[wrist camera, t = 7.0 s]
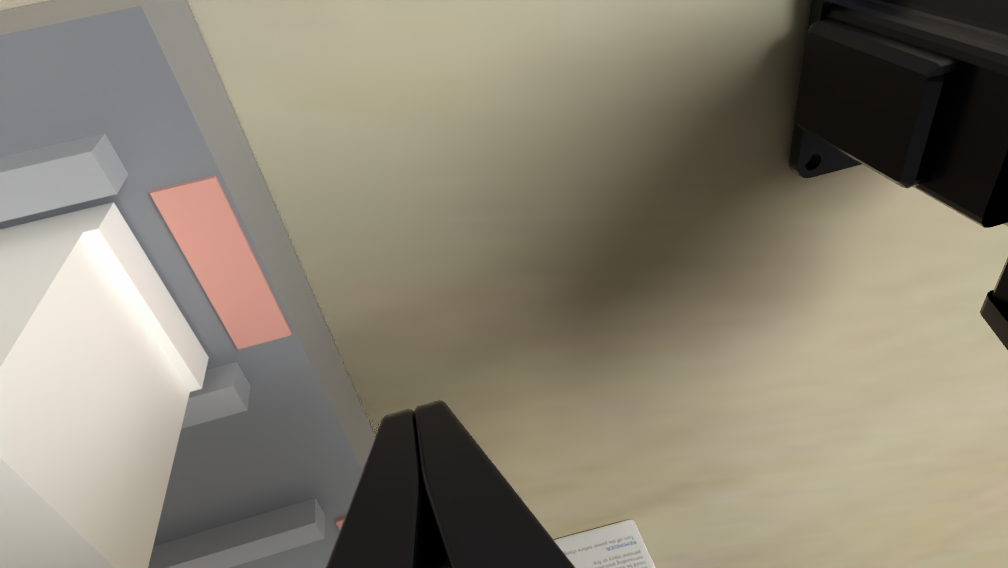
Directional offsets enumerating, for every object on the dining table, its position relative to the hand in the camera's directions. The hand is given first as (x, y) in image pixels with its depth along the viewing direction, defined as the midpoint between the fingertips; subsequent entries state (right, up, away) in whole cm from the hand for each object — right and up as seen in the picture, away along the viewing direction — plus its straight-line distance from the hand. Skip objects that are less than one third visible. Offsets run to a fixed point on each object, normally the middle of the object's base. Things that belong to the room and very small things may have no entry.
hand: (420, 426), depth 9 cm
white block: (-7, +2, +4) cm, 8 cm away
